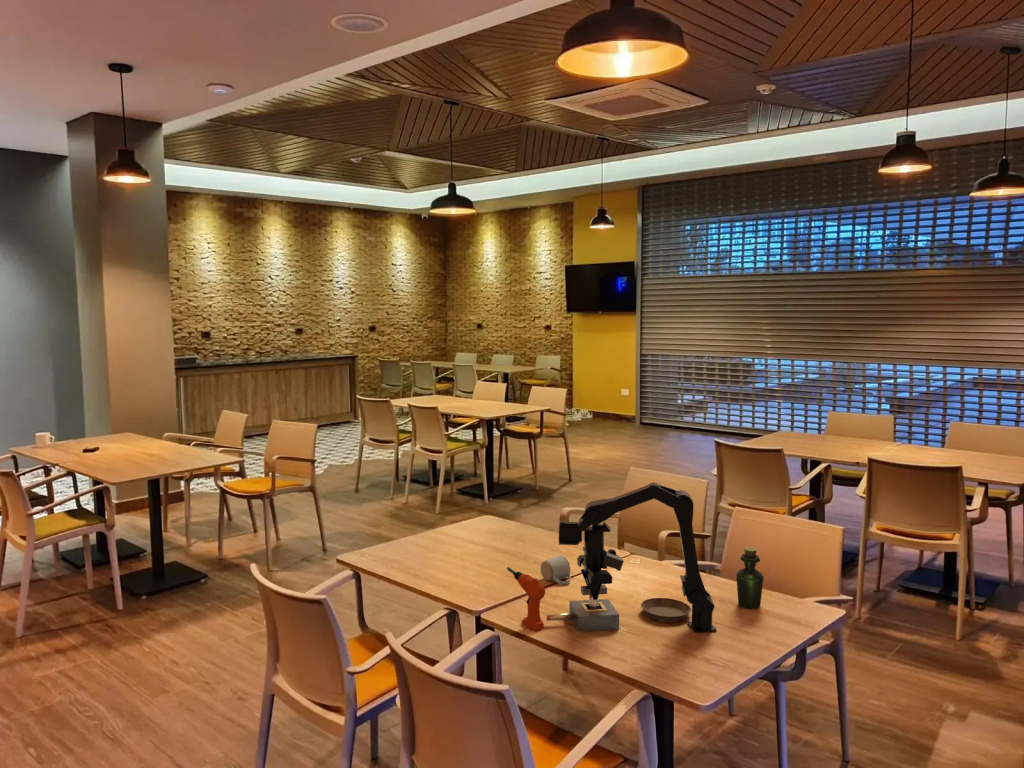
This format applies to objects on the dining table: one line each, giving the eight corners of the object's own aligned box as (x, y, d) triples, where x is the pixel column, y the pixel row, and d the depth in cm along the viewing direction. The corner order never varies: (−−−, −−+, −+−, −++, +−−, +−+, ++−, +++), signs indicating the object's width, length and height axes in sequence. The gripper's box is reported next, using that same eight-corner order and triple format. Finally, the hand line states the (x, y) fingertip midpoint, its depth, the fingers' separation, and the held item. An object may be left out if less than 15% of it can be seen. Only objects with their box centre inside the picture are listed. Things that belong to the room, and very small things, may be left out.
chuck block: (619, 629, 211) (619, 613, 211) (550, 633, 209) (550, 617, 208) (608, 613, 223) (608, 598, 223) (543, 617, 220) (543, 601, 220)
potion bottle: (753, 612, 223) (754, 554, 222) (730, 604, 229) (731, 548, 228) (768, 606, 228) (769, 549, 227) (745, 598, 235) (746, 543, 233)
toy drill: (511, 603, 228) (515, 557, 225) (547, 631, 212) (551, 583, 210) (498, 606, 225) (501, 560, 222) (533, 635, 210) (537, 586, 207)
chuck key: (606, 615, 215) (607, 588, 215) (582, 617, 214) (582, 589, 214) (604, 612, 218) (604, 584, 217) (580, 613, 217) (580, 585, 216)
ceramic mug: (538, 578, 254) (538, 556, 253) (557, 573, 259) (557, 552, 258) (557, 587, 245) (558, 565, 245) (576, 582, 250) (577, 560, 249)
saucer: (691, 608, 227) (691, 599, 227) (689, 627, 213) (690, 618, 213) (643, 603, 231) (643, 595, 231) (638, 622, 217) (638, 613, 217)
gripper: (630, 554, 206) (629, 608, 208) (612, 535, 225) (612, 585, 226) (591, 555, 205) (591, 610, 206) (576, 536, 223) (576, 586, 225)
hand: (594, 597), depth 216 cm, fingers closed on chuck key, 3 cm apart
